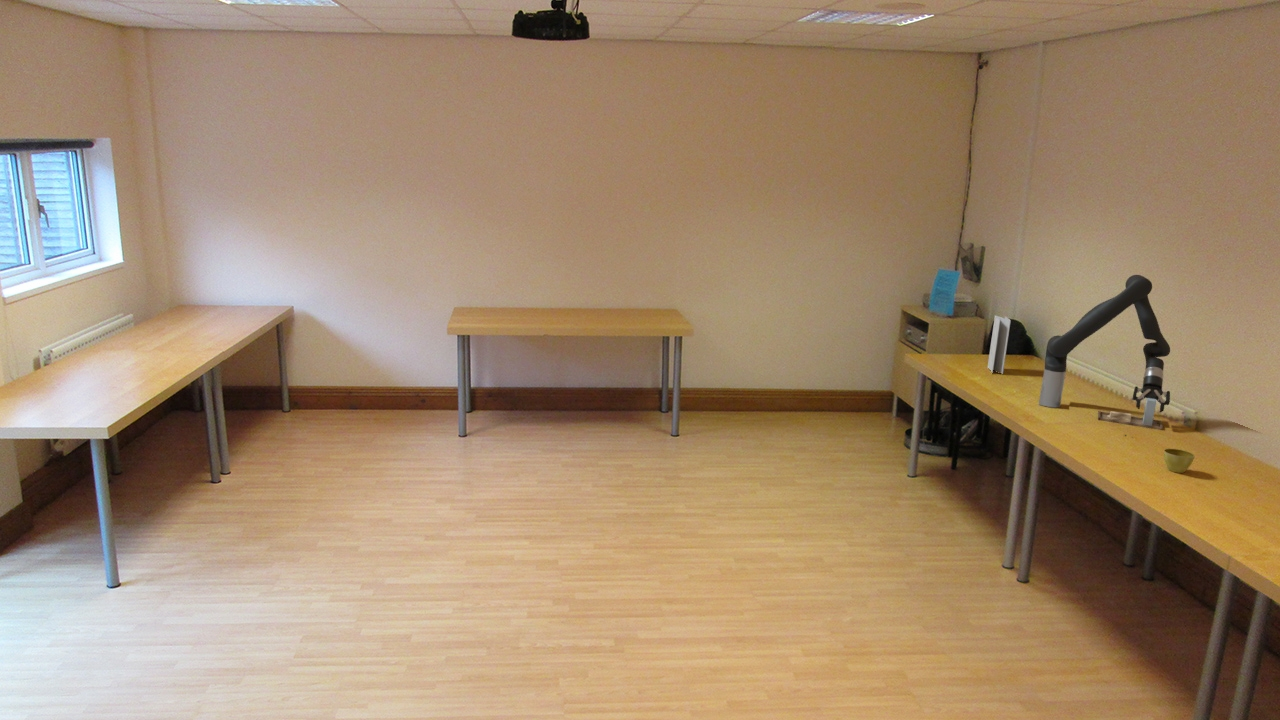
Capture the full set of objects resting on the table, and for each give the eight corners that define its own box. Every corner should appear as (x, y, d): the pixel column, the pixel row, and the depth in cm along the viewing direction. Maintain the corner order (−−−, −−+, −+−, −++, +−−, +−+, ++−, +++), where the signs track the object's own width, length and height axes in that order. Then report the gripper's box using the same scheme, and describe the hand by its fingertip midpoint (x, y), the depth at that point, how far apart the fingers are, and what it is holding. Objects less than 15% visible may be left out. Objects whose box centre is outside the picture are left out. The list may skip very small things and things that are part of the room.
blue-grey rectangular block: (1143, 424, 387) (1147, 400, 385) (1142, 421, 392) (1146, 397, 389) (1151, 425, 386) (1156, 401, 383) (1151, 422, 390) (1155, 399, 388)
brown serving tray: (1097, 423, 391) (1098, 417, 390) (1097, 416, 402) (1098, 411, 402) (1161, 433, 380) (1163, 427, 380) (1160, 426, 392) (1161, 420, 391)
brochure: (1002, 374, 476) (1010, 320, 469) (992, 374, 477) (999, 319, 470) (997, 369, 489) (1005, 316, 483) (987, 368, 490) (994, 315, 484)
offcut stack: (1106, 420, 390) (1108, 412, 389) (1106, 419, 393) (1108, 410, 392) (1129, 424, 386) (1131, 415, 385) (1129, 422, 389) (1131, 413, 388)
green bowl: (1154, 465, 336) (1157, 448, 335) (1179, 466, 337) (1182, 448, 336) (1172, 475, 327) (1175, 456, 325) (1197, 475, 328) (1201, 457, 326)
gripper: (1136, 372, 395) (1132, 402, 387) (1173, 377, 389) (1169, 408, 381) (1134, 381, 401) (1130, 411, 393) (1169, 386, 394) (1166, 416, 387)
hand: (1149, 409), depth 387 cm, fingers open, 8 cm apart
